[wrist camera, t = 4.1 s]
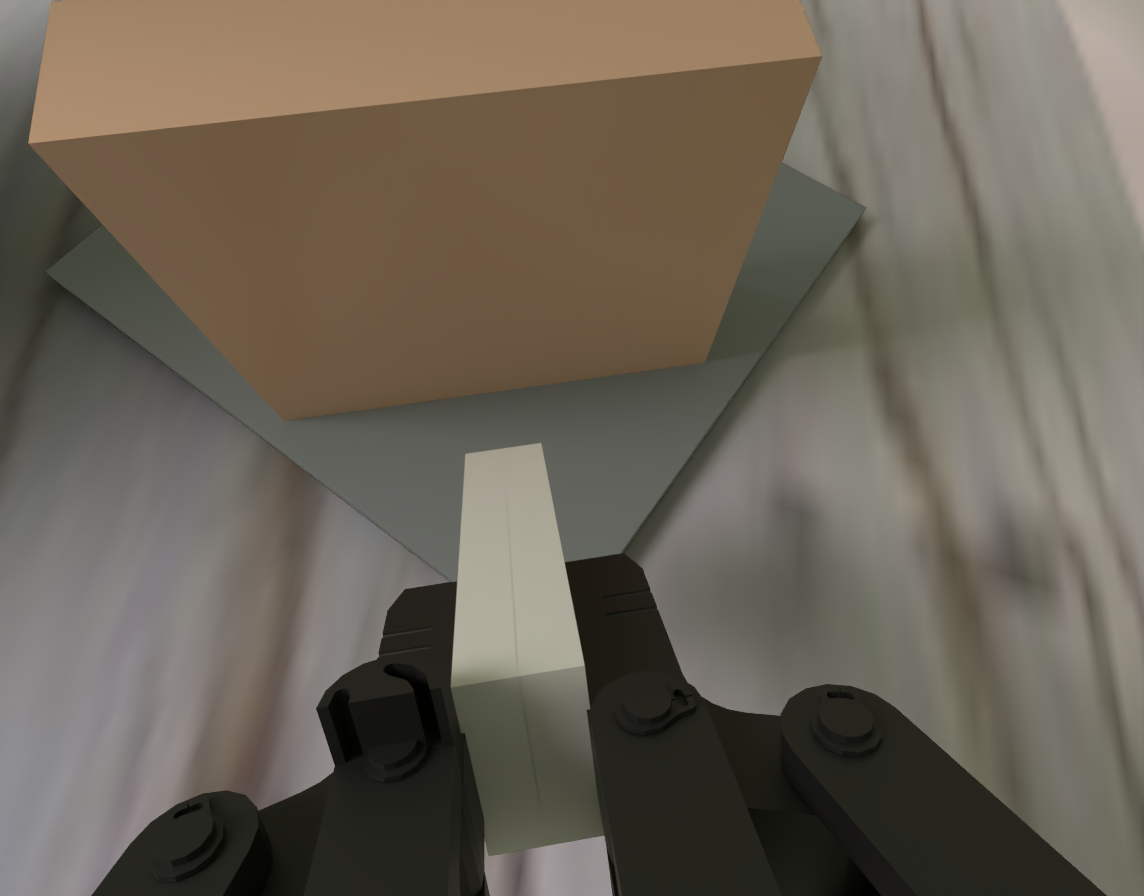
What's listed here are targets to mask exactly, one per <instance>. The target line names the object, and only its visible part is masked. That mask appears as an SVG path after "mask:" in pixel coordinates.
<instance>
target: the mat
mask: <svg viewBox="0 0 1144 896" xmlns="http://www.w3.org/2000/svg"><path fill="white" fill-rule="evenodd" d="M865 209H866V207H864V206H862V205H860V204H859V203H857V202H855V201H853V200H851V199H849V198H847V197H845V196H844V195H842V194H840V193H838V192H836V191H834V190H832V189H830V188H828V187H827V186H825V185H823V184H821V183H819V182H817V181H815V180H813V179H812V178H810V177H808V176H806V175H804V174H802V173H800V172H798V171H796V170H795V169H793V168H791V167H789V166H787V165H785V164H783V163H781V165H780V168H779V170H778V173H777V176H776V178H775V181H774V183H773V186H772V189H771V191H770V194H769V196H768V199H767V202H766V204H765V207H764V209H763V212H762V215H761V217H760V220H759V223H758V225H757V228H756V230H755V233H754V236H753V238H752V241H751V243H750V246H749V249H748V251H747V254H746V256H745V259H744V262H743V264H742V267H741V270H740V272H739V275H738V277H737V280H736V283H735V285H734V288H733V290H732V293H731V296H730V298H729V301H728V303H727V306H726V309H725V311H724V314H723V317H722V319H721V322H720V324H719V327H718V330H717V332H716V335H715V337H714V340H713V343H712V345H711V348H710V350H709V353H708V356H707V358H706V361H705V363H699V364H692V365H685V366H678V367H670V368H663V369H656V370H649V371H642V372H634V373H627V374H620V375H613V376H606V377H598V378H591V379H584V380H577V381H569V382H562V383H555V384H548V385H541V386H533V387H526V388H519V389H512V390H505V391H497V392H490V393H483V394H476V395H468V396H461V397H454V398H447V399H440V400H432V401H425V402H418V403H411V404H404V405H396V406H389V407H382V408H375V409H367V410H360V411H353V412H346V413H339V414H331V415H324V416H317V417H310V418H303V419H295V420H288V421H283V420H282V418H281V417H280V416H279V415H278V414H277V413H276V412H275V411H274V410H273V409H272V408H271V407H270V405H269V404H268V403H267V402H266V401H265V400H264V399H263V398H262V397H261V396H260V395H259V394H258V392H257V391H256V390H255V389H254V388H253V387H252V386H251V385H250V384H249V383H248V382H247V381H246V379H245V378H244V377H243V376H242V375H241V374H240V373H239V372H238V371H237V370H236V369H235V367H234V366H233V365H232V364H231V363H230V362H229V361H228V360H227V359H226V358H225V357H224V356H223V354H222V353H221V352H220V351H219V350H218V349H217V348H216V347H215V346H214V345H213V344H212V343H211V341H210V340H209V339H208V338H207V337H206V336H205V335H204V334H203V333H202V332H201V331H200V330H199V328H198V327H197V326H196V325H195V324H194V323H193V322H192V321H191V320H190V319H189V318H188V317H187V315H186V314H185V313H184V312H183V311H182V310H181V309H180V308H179V307H178V306H177V305H176V303H175V302H174V301H173V300H172V299H171V298H170V297H169V296H168V295H167V294H166V293H165V292H164V290H163V289H162V288H161V287H160V286H159V285H158V284H157V283H156V282H155V281H154V280H153V279H152V277H151V276H150V275H149V274H148V273H147V272H146V271H145V270H144V269H143V268H142V267H141V266H140V264H139V263H138V262H137V261H136V260H135V259H134V258H133V257H132V256H131V255H130V254H129V253H128V251H127V250H126V249H125V248H124V247H123V246H122V245H121V244H120V243H119V242H118V241H117V239H116V238H115V237H114V236H113V235H112V234H111V233H110V232H109V231H108V230H107V229H106V228H105V226H104V225H103V224H102V225H101V226H100V227H98V228H97V229H96V230H95V231H94V232H92V233H91V234H90V235H89V236H88V237H86V238H85V239H84V240H83V241H82V242H80V243H79V244H78V245H77V246H76V247H74V248H73V249H72V250H71V251H69V252H68V253H67V254H66V255H65V256H63V257H62V258H61V259H60V260H59V261H57V262H56V263H55V264H54V265H53V266H51V267H50V268H49V269H48V270H47V271H45V272H46V273H47V274H48V275H49V276H50V277H51V278H53V279H54V280H55V281H56V282H57V283H58V284H60V285H61V286H62V287H64V288H65V289H66V290H67V291H69V292H70V293H71V294H73V295H74V296H75V297H77V298H78V299H79V300H81V301H82V302H83V303H85V304H86V305H87V306H88V307H90V308H91V309H92V310H94V311H95V312H96V313H98V314H99V315H100V316H102V317H103V318H104V319H106V320H107V321H108V322H110V323H111V324H112V325H113V326H115V327H116V328H117V329H119V330H120V331H121V332H123V333H124V334H125V335H127V336H128V337H129V338H131V339H132V340H133V341H134V342H136V343H137V344H138V345H140V346H141V347H142V348H144V349H145V350H146V351H148V352H149V353H150V354H152V355H153V356H154V357H156V358H157V359H158V360H159V361H161V362H162V363H163V364H165V365H166V366H167V367H169V368H170V369H171V370H173V371H174V372H175V373H177V374H178V375H179V376H180V377H182V378H183V379H184V380H186V381H187V382H188V383H190V384H191V385H192V386H194V387H195V388H196V389H198V390H199V391H200V392H202V393H203V394H204V395H205V396H207V397H208V398H209V399H211V400H212V401H213V402H215V403H216V404H217V405H219V406H220V407H221V408H223V409H224V410H225V411H227V412H228V413H229V414H230V415H232V416H233V417H234V418H236V419H237V420H238V421H240V422H241V423H242V424H244V425H245V426H246V427H248V428H249V429H250V430H251V431H253V432H254V433H255V434H257V435H258V436H259V437H261V438H262V439H263V440H265V441H266V442H267V443H269V444H270V445H271V446H273V447H274V448H275V449H276V450H278V451H279V452H280V453H282V454H283V455H284V456H286V457H287V458H288V459H290V460H291V461H292V462H294V463H295V464H296V465H297V466H299V467H300V468H301V469H303V470H304V471H305V472H307V473H308V474H309V475H311V476H312V477H313V478H315V479H316V480H317V481H319V482H320V483H321V484H322V485H324V486H325V487H326V488H328V489H329V490H330V491H332V492H333V493H334V494H336V495H337V496H338V497H340V498H341V499H342V500H343V501H345V502H346V503H347V504H349V505H350V506H351V507H353V508H354V509H355V510H357V511H358V512H359V513H361V514H362V515H363V516H365V517H366V518H367V519H368V520H370V521H371V522H372V523H374V524H375V525H376V526H378V527H379V528H380V529H382V530H383V531H384V532H386V533H387V534H388V535H389V536H391V537H392V538H393V539H395V540H396V541H397V542H399V543H400V544H401V545H403V546H404V547H405V548H407V549H408V550H409V551H411V552H412V553H413V554H414V555H416V556H417V557H418V558H420V559H421V560H422V561H424V562H425V563H426V564H428V565H429V566H430V567H432V568H433V569H434V570H436V571H437V572H438V573H439V574H441V575H442V576H443V577H445V578H446V579H447V580H449V581H450V582H455V581H457V580H458V564H459V548H460V532H461V516H462V501H463V485H464V469H465V454H468V453H475V452H482V451H489V450H495V449H502V448H509V447H516V446H523V445H530V444H537V443H541V444H542V450H543V455H544V460H545V465H546V470H547V475H548V480H549V485H550V491H551V496H552V501H553V506H554V511H555V516H556V521H557V526H558V531H559V537H560V542H561V547H562V552H563V557H564V562H569V561H576V560H582V559H589V558H595V557H601V556H608V555H614V554H621V553H623V552H624V550H625V549H626V548H627V546H628V545H629V543H630V542H631V541H632V539H633V538H634V536H635V535H636V534H637V532H638V531H639V529H640V528H641V527H642V525H643V524H644V522H645V521H646V519H647V518H648V517H649V515H650V514H651V512H652V511H653V510H654V508H655V507H656V505H657V504H658V503H659V501H660V500H661V498H662V497H663V496H664V494H665V493H666V491H667V490H668V488H669V487H670V486H671V484H672V483H673V481H674V480H675V479H676V477H677V476H678V474H679V473H680V472H681V470H682V469H683V467H684V466H685V465H686V463H687V462H688V460H689V459H690V457H691V456H692V455H693V453H694V452H695V450H696V449H697V448H698V446H699V445H700V443H701V442H702V441H703V439H704V438H705V436H706V435H707V434H708V432H709V431H710V429H711V428H712V426H713V425H714V424H715V422H716V421H717V419H718V418H719V417H720V415H721V414H722V412H723V411H724V410H725V408H726V407H727V405H728V404H729V403H730V401H731V400H732V398H733V397H734V396H735V394H736V393H737V391H738V390H739V388H740V387H741V386H742V384H743V383H744V381H745V380H746V379H747V377H748V376H749V374H750V373H751V372H752V370H753V369H754V367H755V366H756V365H757V363H758V362H759V360H760V359H761V357H762V356H763V355H764V353H765V352H766V350H767V349H768V348H769V346H770V345H771V343H772V342H773V341H774V339H775V338H776V336H777V335H778V334H779V332H780V331H781V329H782V328H783V326H784V325H785V324H786V322H787V321H788V319H789V318H790V317H791V315H792V314H793V312H794V311H795V310H796V308H797V307H798V305H799V304H800V303H801V301H802V300H803V298H804V297H805V295H806V294H807V293H808V291H809V290H810V288H811V287H812V286H813V284H814V283H815V281H816V280H817V279H818V277H819V276H820V274H821V273H822V272H823V270H824V269H825V267H826V266H827V265H828V263H829V262H830V260H831V259H832V257H833V256H834V255H835V253H836V252H837V250H838V249H839V248H840V246H841V245H842V243H843V242H844V241H845V239H846V238H847V236H848V235H849V234H850V232H851V231H852V229H853V228H854V226H855V225H856V224H857V222H858V221H859V219H860V218H861V216H862V214H863V212H864V211H865Z"/></svg>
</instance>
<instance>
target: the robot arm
mask: <svg viewBox="0 0 1144 896" xmlns="http://www.w3.org/2000/svg"><path fill="white" fill-rule="evenodd" d="M316 709H317V712H318V715H319V718H320V721H321V724H322V727H323V731H324V734H325V737H326V740H327V743H328V746H329V749H330V752H331V755H332V758H333V761H334V764H335V768H334V772H333V773H332V774H330V775H329V776H328V777H326V778H325V779H324V780H322V781H321V782H320V783H318V784H316V785H314V786H312V787H310V788H308V789H306V790H305V791H303V792H301V793H298V794H296V795H294V796H292V797H289V798H287V799H285V800H282V801H280V802H278V803H275V804H273V805H271V806H269V807H266V808H264V809H262V810H259V811H258V809H257V807H256V806H255V805H254V804H253V803H252V802H251V801H250V800H249V798H248V797H247V796H246V795H243V794H239V793H235V792H231V791H227V790H226V791H219V792H212V793H205V794H201V795H199V796H196V797H194V798H191V799H189V800H187V801H184V802H182V803H179V804H177V805H175V806H174V807H172V808H171V809H169V810H168V811H167V812H165V813H164V814H162V815H161V816H159V817H158V818H156V819H155V820H154V821H152V822H151V823H150V824H149V825H148V826H147V827H146V828H145V829H144V830H143V831H142V832H141V833H140V834H139V835H138V836H137V838H136V839H135V840H134V841H133V842H132V843H131V844H130V845H129V846H128V848H127V849H126V850H125V852H124V853H123V854H122V856H121V857H120V858H119V860H118V861H117V862H116V864H115V865H114V866H113V868H112V869H111V870H110V872H109V873H108V874H107V876H106V877H105V878H104V880H103V881H102V882H101V884H100V885H99V886H98V888H97V889H96V890H95V892H94V893H93V894H92V896H490V894H489V890H488V885H487V881H486V877H485V872H484V837H485V842H486V846H487V851H488V855H489V856H493V855H498V854H504V853H509V852H515V851H520V850H526V849H531V848H537V847H542V846H548V845H553V844H559V843H565V842H570V841H576V840H581V839H587V838H592V837H598V836H603V835H605V841H606V847H607V854H608V862H609V870H610V878H611V886H612V893H613V896H1106V895H1105V894H1104V893H1103V892H1102V891H1101V890H1100V889H1099V888H1097V887H1096V886H1095V885H1094V884H1093V883H1092V882H1091V881H1090V880H1088V879H1087V878H1086V877H1085V876H1084V875H1083V874H1082V873H1081V872H1079V871H1078V870H1077V869H1076V868H1075V867H1074V866H1073V865H1072V864H1071V863H1069V862H1068V861H1067V860H1066V859H1065V858H1064V857H1063V856H1062V855H1060V854H1059V853H1058V852H1057V851H1056V850H1055V849H1054V848H1053V847H1051V846H1050V845H1049V844H1048V843H1047V842H1046V841H1045V840H1044V839H1042V838H1041V837H1040V836H1039V835H1038V834H1037V833H1036V832H1035V831H1033V830H1032V829H1031V828H1030V827H1029V826H1028V825H1027V824H1026V823H1024V822H1023V821H1022V820H1021V819H1020V818H1019V817H1018V816H1017V815H1015V814H1014V813H1013V812H1012V811H1011V810H1010V809H1009V808H1008V807H1006V806H1005V805H1004V804H1003V803H1002V802H1001V801H1000V800H999V799H997V798H996V797H995V796H994V795H993V794H992V793H991V792H990V791H988V790H987V789H986V788H985V787H984V786H983V785H982V784H981V783H980V782H978V781H977V780H976V779H975V778H974V777H973V776H972V775H971V774H969V773H968V772H967V771H966V770H965V769H964V768H963V767H962V766H960V765H959V764H958V763H957V762H956V761H955V760H954V759H953V758H951V757H950V756H949V755H948V754H947V753H946V752H945V751H944V750H942V749H941V748H940V747H939V746H938V745H937V744H936V743H935V742H933V741H932V740H931V739H930V738H929V737H928V736H927V735H926V734H924V733H923V732H922V731H921V730H920V729H919V728H918V727H917V726H915V725H914V724H913V723H912V722H911V721H910V720H909V719H908V718H906V717H905V716H904V715H903V714H902V713H901V712H900V711H899V710H897V709H896V708H895V707H894V706H892V705H891V704H889V703H888V702H886V701H884V700H883V699H881V698H880V697H878V696H877V695H875V694H873V693H870V692H867V691H864V690H861V689H858V688H855V687H852V686H843V685H830V684H826V685H821V686H816V687H811V688H806V689H804V690H803V691H801V692H799V693H798V694H796V695H795V696H793V697H792V698H790V699H789V701H788V702H787V704H786V706H785V708H784V709H783V711H782V713H781V716H776V715H765V714H753V713H745V712H739V711H734V710H729V709H726V708H723V707H720V706H718V705H715V704H713V703H711V702H709V701H708V700H706V699H704V698H703V697H701V696H700V694H699V693H698V691H697V690H696V689H695V687H693V686H692V685H690V684H689V683H687V681H686V679H685V678H684V676H683V674H682V672H681V669H680V666H679V664H678V661H677V658H676V656H675V653H674V650H673V648H672V645H671V643H670V640H669V637H668V635H667V632H666V629H665V627H664V624H663V622H662V619H661V616H660V614H659V611H658V610H657V606H656V603H655V600H654V598H653V595H652V593H651V592H650V587H649V585H648V582H647V579H646V577H645V574H644V571H643V569H642V568H641V567H640V566H639V565H637V564H636V563H635V562H634V561H632V560H631V559H630V558H629V557H627V556H626V555H625V554H624V553H621V554H614V555H608V556H601V557H595V558H589V559H582V560H576V561H569V562H564V557H563V552H562V547H561V542H560V537H559V531H558V526H557V521H556V516H555V511H554V506H553V501H552V496H551V491H550V485H549V480H548V475H547V470H546V465H545V460H544V455H543V450H542V444H541V443H537V444H530V445H523V446H516V447H509V448H502V449H495V450H489V451H482V452H475V453H468V454H465V469H464V485H463V501H462V516H461V532H460V548H459V564H458V580H457V581H455V582H449V583H442V584H436V585H429V586H423V587H416V588H410V589H405V590H404V591H403V592H402V594H401V595H400V596H399V597H398V599H397V600H396V601H395V602H394V604H393V605H392V606H391V607H390V609H389V610H388V611H387V616H386V621H385V625H384V630H383V638H382V640H381V644H380V649H379V658H378V659H377V660H375V661H371V662H368V663H364V664H362V665H360V666H359V667H357V668H355V669H353V670H351V671H350V672H348V673H346V674H344V675H342V676H341V677H340V678H339V679H338V680H337V681H336V682H335V683H334V684H333V685H332V686H331V687H329V688H328V689H327V690H326V692H325V693H324V695H323V697H322V699H321V701H320V702H319V704H318V706H317V708H316Z"/></svg>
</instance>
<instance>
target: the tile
mask: <svg viewBox="0 0 1144 896" xmlns="http://www.w3.org/2000/svg"><path fill="white" fill-rule="evenodd" d="M821 58H822V54H821V51H820V49H819V46H818V44H817V41H816V39H815V36H814V34H813V31H812V29H811V26H810V24H809V21H808V19H807V16H806V14H805V11H804V9H803V6H802V4H801V1H800V0H65V1H55V2H51V5H50V12H49V18H48V24H47V30H46V36H45V42H44V49H43V55H42V61H41V67H40V73H39V79H38V86H37V92H36V98H35V104H34V110H33V116H32V123H31V129H30V135H29V141H28V144H29V145H30V146H31V147H32V148H33V149H34V151H35V152H36V153H37V154H38V155H39V156H40V157H41V158H42V159H43V160H44V161H45V162H46V164H47V165H48V166H49V167H50V168H51V169H52V170H53V171H54V172H55V173H56V174H57V175H58V177H59V178H60V179H61V180H62V181H63V182H64V183H65V184H66V185H67V186H68V187H69V188H70V190H71V191H72V192H73V193H74V194H75V195H76V196H77V197H78V198H79V199H80V200H81V202H82V203H83V204H84V205H85V206H86V207H87V208H88V209H89V210H90V211H91V212H92V213H93V215H94V216H95V217H96V218H97V219H98V220H99V221H100V222H101V223H102V224H103V225H104V226H105V228H106V229H107V230H108V231H109V232H110V233H111V234H112V235H113V236H114V237H115V238H116V239H117V241H118V242H119V243H120V244H121V245H122V246H123V247H124V248H125V249H126V250H127V251H128V253H129V254H130V255H131V256H132V257H133V258H134V259H135V260H136V261H137V262H138V263H139V264H140V266H141V267H142V268H143V269H144V270H145V271H146V272H147V273H148V274H149V275H150V276H151V277H152V279H153V280H154V281H155V282H156V283H157V284H158V285H159V286H160V287H161V288H162V289H163V290H164V292H165V293H166V294H167V295H168V296H169V297H170V298H171V299H172V300H173V301H174V302H175V303H176V305H177V306H178V307H179V308H180V309H181V310H182V311H183V312H184V313H185V314H186V315H187V317H188V318H189V319H190V320H191V321H192V322H193V323H194V324H195V325H196V326H197V327H198V328H199V330H200V331H201V332H202V333H203V334H204V335H205V336H206V337H207V338H208V339H209V340H210V341H211V343H212V344H213V345H214V346H215V347H216V348H217V349H218V350H219V351H220V352H221V353H222V354H223V356H224V357H225V358H226V359H227V360H228V361H229V362H230V363H231V364H232V365H233V366H234V367H235V369H236V370H237V371H238V372H239V373H240V374H241V375H242V376H243V377H244V378H245V379H246V381H247V382H248V383H249V384H250V385H251V386H252V387H253V388H254V389H255V390H256V391H257V392H258V394H259V395H260V396H261V397H262V398H263V399H264V400H265V401H266V402H267V403H268V404H269V405H270V407H271V408H272V409H273V410H274V411H275V412H276V413H277V414H278V415H279V416H280V417H281V418H282V420H283V421H288V420H295V419H303V418H310V417H317V416H324V415H331V414H339V413H346V412H353V411H360V410H367V409H375V408H382V407H389V406H396V405H404V404H411V403H418V402H425V401H432V400H440V399H447V398H454V397H461V396H468V395H476V394H483V393H490V392H497V391H505V390H512V389H519V388H526V387H533V386H541V385H548V384H555V383H562V382H569V381H577V380H584V379H591V378H598V377H606V376H613V375H620V374H627V373H634V372H642V371H649V370H656V369H663V368H670V367H678V366H685V365H692V364H699V363H705V361H706V358H707V356H708V353H709V350H710V348H711V345H712V343H713V340H714V337H715V335H716V332H717V330H718V327H719V324H720V322H721V319H722V317H723V314H724V311H725V309H726V306H727V303H728V301H729V298H730V296H731V293H732V290H733V288H734V285H735V283H736V280H737V277H738V275H739V272H740V270H741V267H742V264H743V262H744V259H745V256H746V254H747V251H748V249H749V246H750V243H751V241H752V238H753V236H754V233H755V230H756V228H757V225H758V223H759V220H760V217H761V215H762V212H763V209H764V207H765V204H766V202H767V199H768V196H769V194H770V191H771V189H772V186H773V183H774V181H775V178H776V176H777V173H778V170H779V168H780V165H781V162H782V160H783V157H784V155H785V152H786V149H787V147H788V144H789V142H790V139H791V136H792V134H793V131H794V129H795V126H796V123H797V121H798V118H799V116H800V113H801V110H802V108H803V105H804V102H805V100H806V97H807V95H808V92H809V89H810V87H811V84H812V82H813V79H814V76H815V74H816V71H817V69H818V66H819V63H820V61H821Z"/></svg>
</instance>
